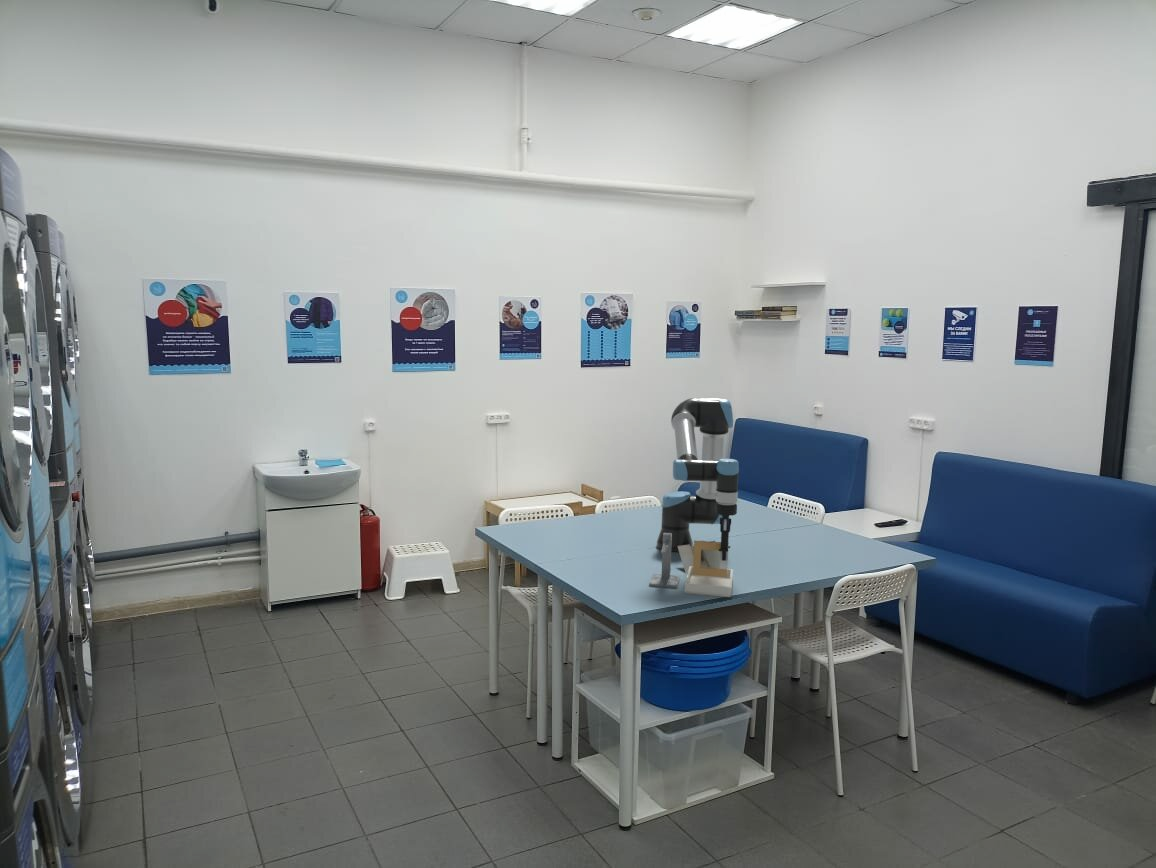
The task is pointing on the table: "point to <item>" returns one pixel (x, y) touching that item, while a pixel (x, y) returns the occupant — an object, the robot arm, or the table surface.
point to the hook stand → (665, 567)
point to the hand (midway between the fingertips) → (723, 567)
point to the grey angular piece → (707, 557)
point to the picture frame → (697, 559)
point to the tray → (709, 584)
